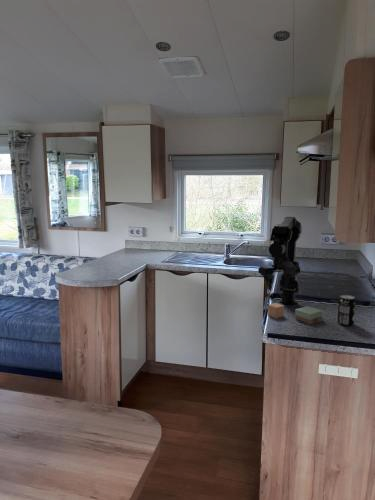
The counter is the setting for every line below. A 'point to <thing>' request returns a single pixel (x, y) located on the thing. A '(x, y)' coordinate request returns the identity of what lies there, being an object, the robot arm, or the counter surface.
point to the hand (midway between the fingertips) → (278, 289)
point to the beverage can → (346, 310)
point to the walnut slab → (309, 320)
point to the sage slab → (308, 312)
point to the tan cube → (275, 310)
